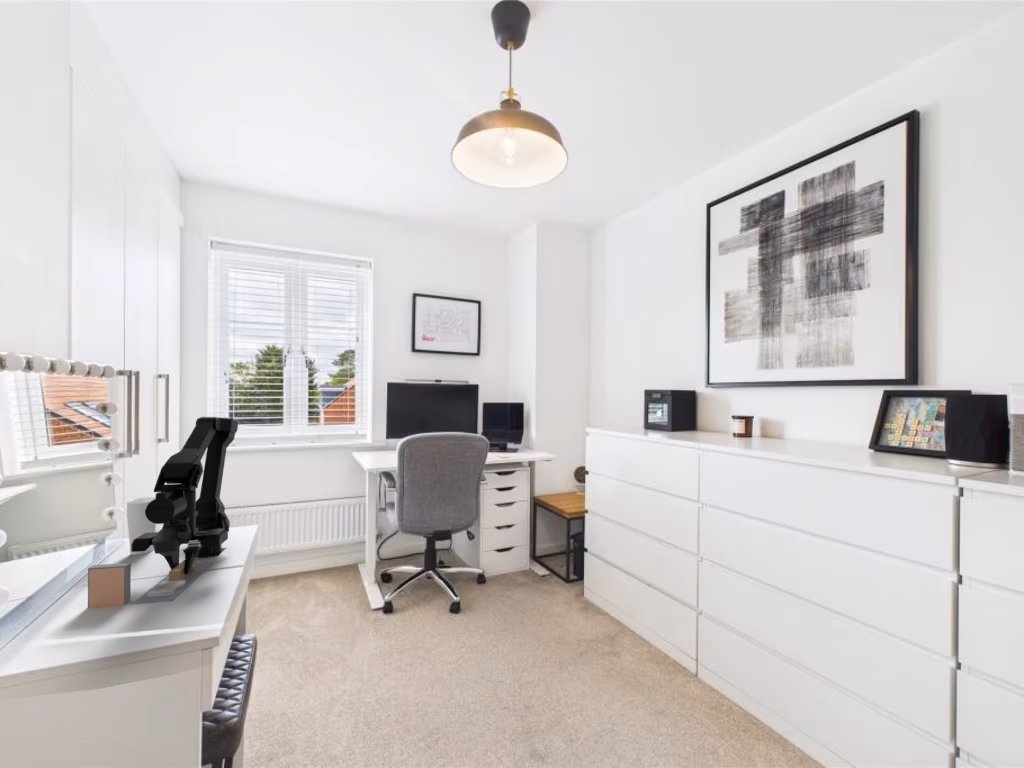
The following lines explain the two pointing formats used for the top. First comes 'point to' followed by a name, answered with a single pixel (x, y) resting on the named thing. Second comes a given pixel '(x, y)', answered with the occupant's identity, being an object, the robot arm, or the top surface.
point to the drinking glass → (139, 521)
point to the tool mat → (198, 571)
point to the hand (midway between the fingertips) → (181, 574)
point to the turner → (172, 581)
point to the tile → (109, 585)
